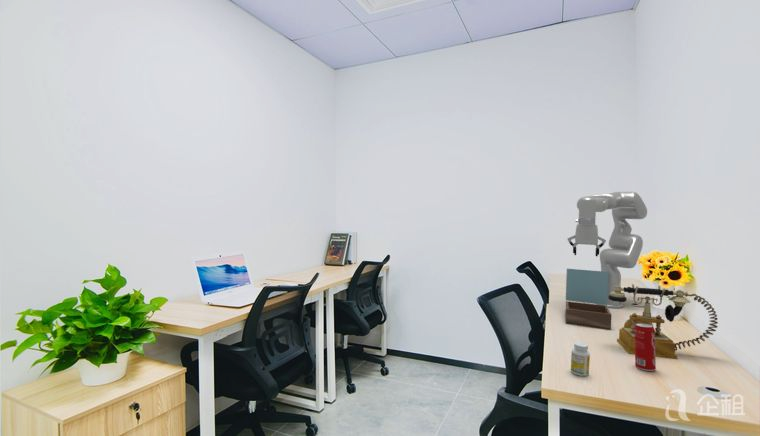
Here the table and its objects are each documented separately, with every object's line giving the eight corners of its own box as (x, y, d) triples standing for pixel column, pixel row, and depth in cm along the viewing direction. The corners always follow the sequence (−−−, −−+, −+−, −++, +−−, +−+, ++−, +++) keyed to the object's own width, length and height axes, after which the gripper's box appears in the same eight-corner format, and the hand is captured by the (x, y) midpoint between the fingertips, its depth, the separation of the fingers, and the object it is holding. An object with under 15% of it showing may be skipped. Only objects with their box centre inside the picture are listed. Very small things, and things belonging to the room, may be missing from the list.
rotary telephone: (697, 346, 151) (700, 284, 150) (724, 364, 134) (728, 294, 132) (598, 336, 160) (601, 277, 159) (611, 351, 143) (614, 286, 142)
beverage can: (655, 373, 125) (657, 329, 124) (631, 368, 129) (634, 325, 128) (655, 367, 130) (657, 324, 129) (633, 362, 134) (635, 320, 133)
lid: (565, 300, 190) (565, 300, 191) (607, 305, 182) (606, 304, 183) (566, 268, 192) (566, 268, 193) (607, 271, 184) (607, 271, 185)
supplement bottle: (577, 376, 122) (578, 347, 121) (567, 369, 127) (568, 341, 127) (592, 376, 122) (593, 347, 122) (582, 368, 128) (583, 341, 127)
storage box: (565, 314, 190) (565, 301, 190) (606, 320, 183) (607, 305, 182) (566, 323, 176) (566, 309, 176) (610, 330, 168) (611, 314, 168)
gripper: (568, 222, 192) (567, 255, 193) (607, 223, 184) (606, 257, 185) (567, 221, 199) (566, 253, 200) (605, 222, 191) (604, 255, 192)
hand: (585, 255), depth 192 cm, fingers open, 9 cm apart
